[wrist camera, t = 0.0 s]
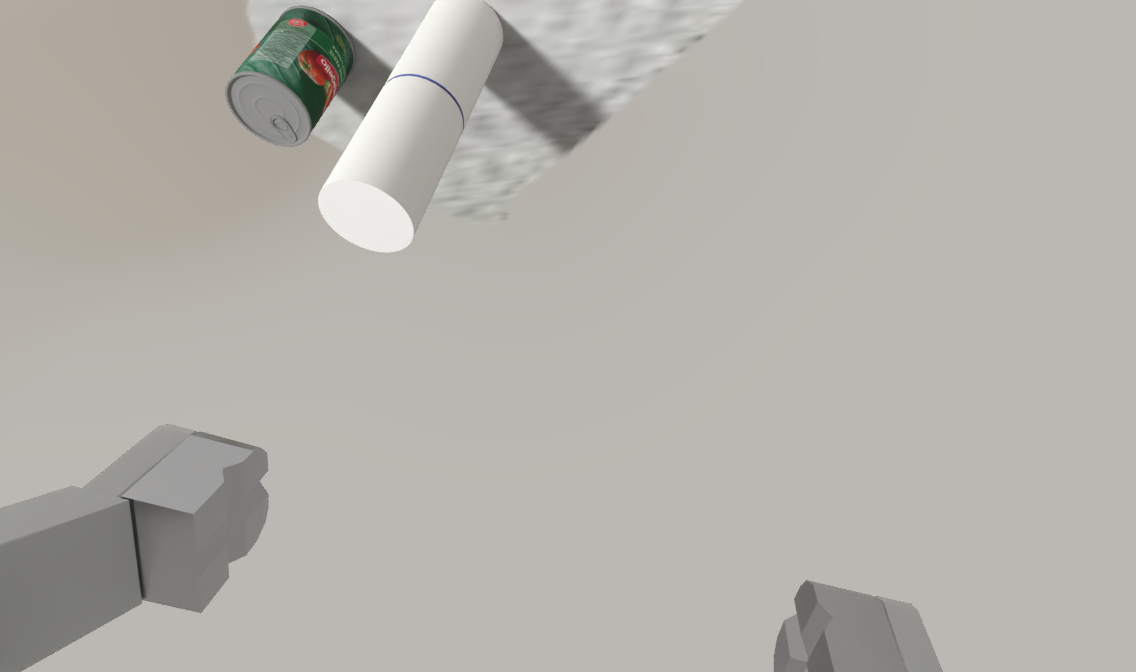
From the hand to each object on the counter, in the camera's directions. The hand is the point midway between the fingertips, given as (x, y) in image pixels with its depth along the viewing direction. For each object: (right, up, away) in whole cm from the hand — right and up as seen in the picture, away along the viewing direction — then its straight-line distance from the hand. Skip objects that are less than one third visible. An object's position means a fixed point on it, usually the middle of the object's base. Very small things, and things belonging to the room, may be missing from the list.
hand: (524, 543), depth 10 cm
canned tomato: (-24, +32, +60) cm, 72 cm away
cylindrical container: (-9, +32, +55) cm, 64 cm away
